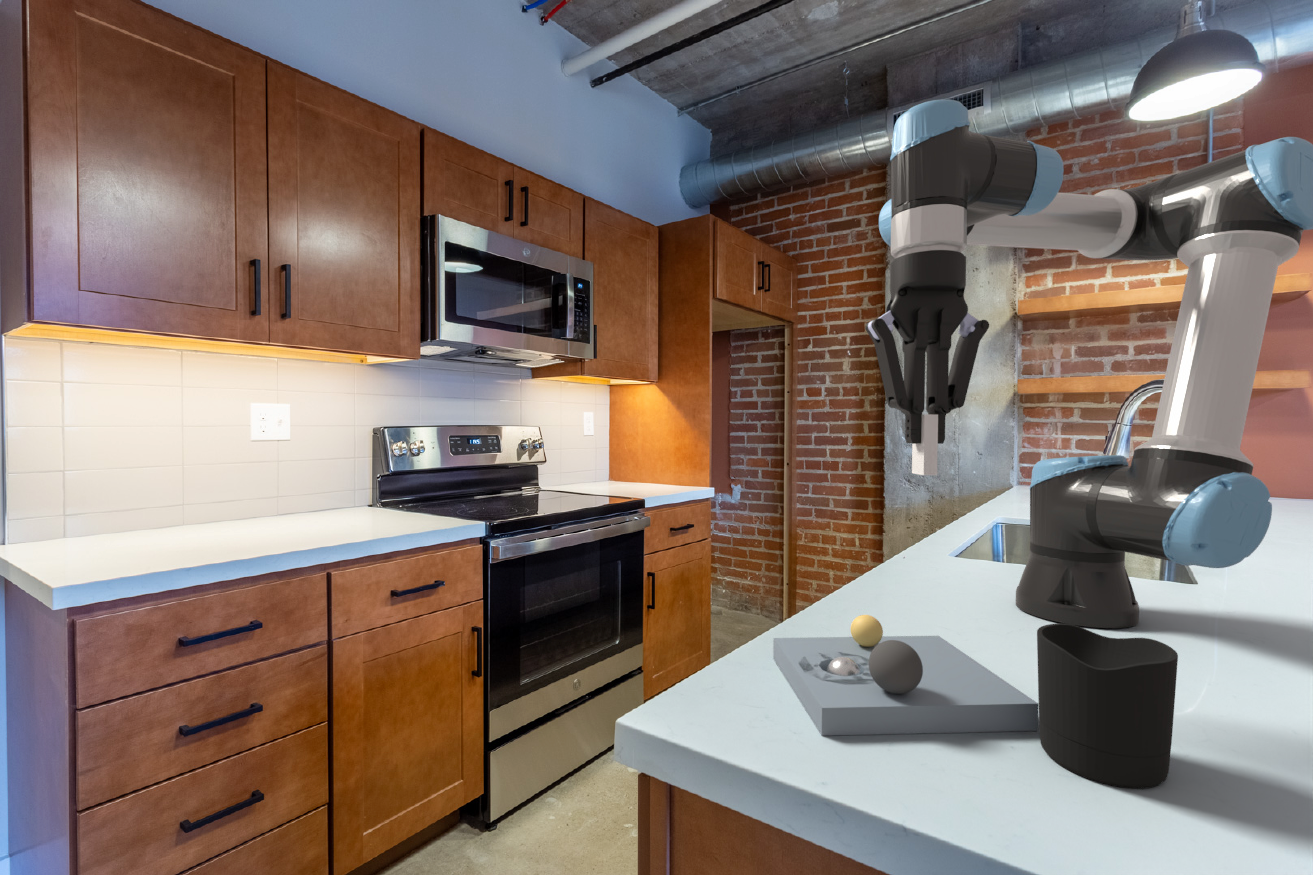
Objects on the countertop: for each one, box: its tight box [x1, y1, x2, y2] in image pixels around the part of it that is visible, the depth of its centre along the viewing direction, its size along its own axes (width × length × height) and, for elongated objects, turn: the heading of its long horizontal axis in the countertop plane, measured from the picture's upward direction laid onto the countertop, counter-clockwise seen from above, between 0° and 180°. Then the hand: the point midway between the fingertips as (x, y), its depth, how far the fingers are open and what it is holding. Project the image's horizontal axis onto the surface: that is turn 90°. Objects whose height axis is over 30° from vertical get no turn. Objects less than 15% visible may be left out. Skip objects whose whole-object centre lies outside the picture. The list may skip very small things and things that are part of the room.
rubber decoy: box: [869, 640, 923, 694], centre depth 59 cm, size 5×5×5 cm
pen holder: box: [1036, 623, 1179, 789], centre depth 52 cm, size 9×9×10 cm
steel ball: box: [827, 657, 861, 676], centre depth 65 cm, size 4×4×4 cm
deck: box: [772, 635, 1039, 736], centre depth 65 cm, size 20×18×2 cm
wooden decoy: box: [850, 614, 884, 647], centre depth 71 cm, size 4×4×4 cm
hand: (924, 474), depth 68 cm, fingers closed
